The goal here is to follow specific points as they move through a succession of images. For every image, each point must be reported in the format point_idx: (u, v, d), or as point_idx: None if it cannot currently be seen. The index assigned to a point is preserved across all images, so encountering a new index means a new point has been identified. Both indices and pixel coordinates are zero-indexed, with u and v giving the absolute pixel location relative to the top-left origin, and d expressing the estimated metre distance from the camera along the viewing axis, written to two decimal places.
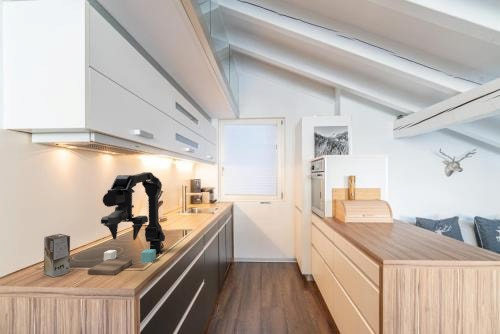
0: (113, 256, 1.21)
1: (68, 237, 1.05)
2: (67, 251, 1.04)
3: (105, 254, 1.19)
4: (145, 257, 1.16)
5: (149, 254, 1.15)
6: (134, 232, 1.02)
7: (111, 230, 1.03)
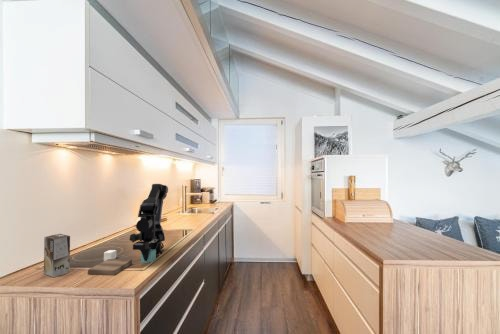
0: (113, 256, 1.21)
1: (68, 237, 1.05)
2: (67, 251, 1.04)
3: (105, 254, 1.19)
4: None
5: (149, 254, 1.15)
6: None
7: None
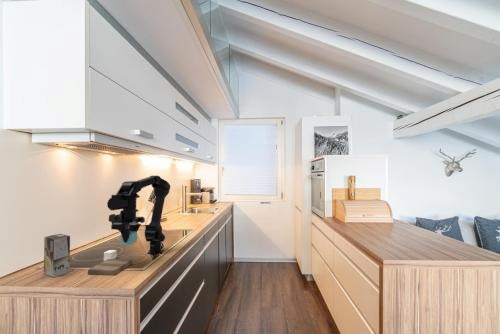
0: (113, 256, 1.21)
1: (68, 237, 1.05)
2: (67, 251, 1.04)
3: (105, 254, 1.19)
4: None
5: (130, 235, 1.10)
6: None
7: None
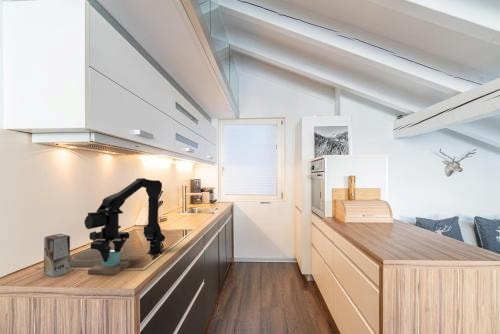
0: None
1: (68, 237, 1.05)
2: (67, 251, 1.04)
3: None
4: (107, 260, 1.06)
5: (112, 257, 1.06)
6: None
7: None
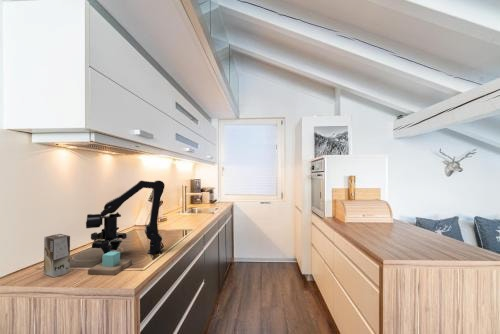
0: None
1: (68, 237, 1.05)
2: (67, 251, 1.04)
3: None
4: (107, 260, 1.06)
5: (112, 257, 1.06)
6: None
7: None
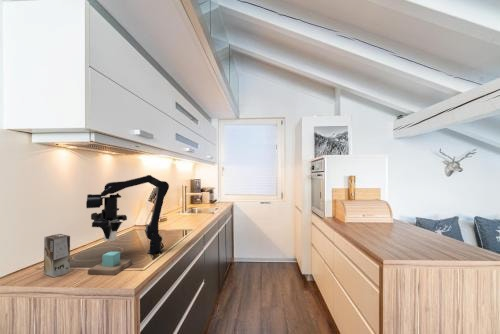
0: (114, 237, 1.21)
1: (68, 237, 1.05)
2: (67, 251, 1.04)
3: None
4: (107, 260, 1.06)
5: (112, 257, 1.06)
6: None
7: None
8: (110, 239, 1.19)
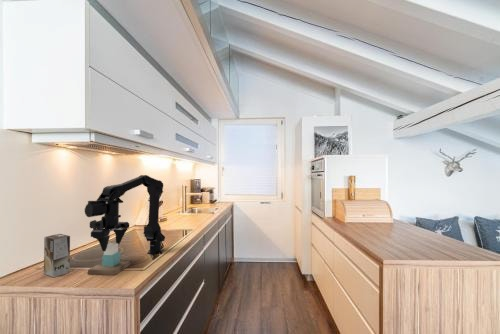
0: (115, 250, 1.08)
1: (68, 237, 1.05)
2: (67, 251, 1.04)
3: None
4: (107, 260, 1.06)
5: (112, 257, 1.06)
6: None
7: None
8: (111, 253, 1.06)
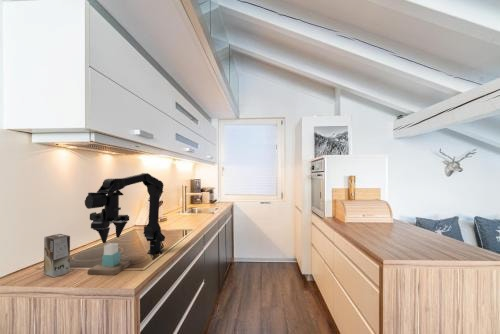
0: (115, 250, 1.08)
1: (68, 237, 1.05)
2: (67, 251, 1.04)
3: (105, 247, 1.07)
4: (107, 260, 1.06)
5: (112, 257, 1.06)
6: None
7: None
8: (111, 253, 1.06)
